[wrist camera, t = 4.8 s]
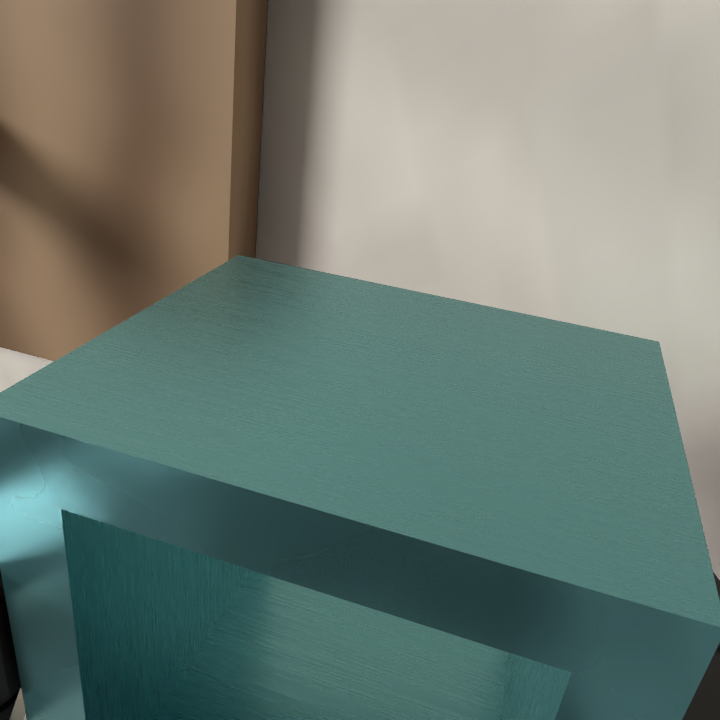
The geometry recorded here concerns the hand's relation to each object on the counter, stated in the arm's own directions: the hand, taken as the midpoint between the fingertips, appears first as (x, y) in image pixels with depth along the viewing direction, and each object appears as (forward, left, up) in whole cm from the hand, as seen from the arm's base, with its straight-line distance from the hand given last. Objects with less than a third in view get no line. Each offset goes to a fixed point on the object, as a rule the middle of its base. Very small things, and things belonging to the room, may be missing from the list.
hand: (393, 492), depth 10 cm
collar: (0, 0, -1) cm, 1 cm away
